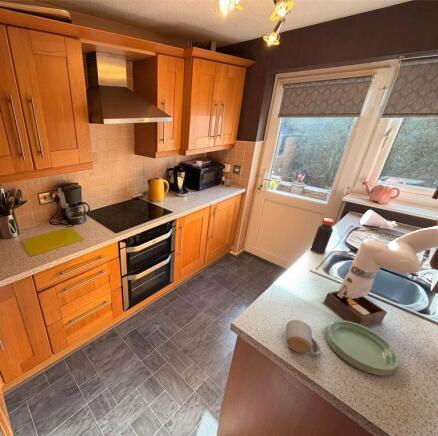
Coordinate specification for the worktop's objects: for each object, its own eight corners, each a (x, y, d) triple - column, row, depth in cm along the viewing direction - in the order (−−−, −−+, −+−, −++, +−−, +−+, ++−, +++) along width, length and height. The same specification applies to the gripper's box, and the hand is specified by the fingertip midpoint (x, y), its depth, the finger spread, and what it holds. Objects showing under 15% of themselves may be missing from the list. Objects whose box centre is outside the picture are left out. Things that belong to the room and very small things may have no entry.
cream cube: (354, 310, 94) (358, 304, 93) (366, 319, 90) (370, 313, 89) (348, 312, 93) (351, 305, 92) (359, 321, 89) (363, 314, 88)
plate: (351, 322, 90) (354, 316, 88) (408, 368, 74) (414, 361, 72) (313, 332, 86) (316, 325, 84) (365, 383, 70) (370, 375, 68)
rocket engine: (405, 217, 156) (373, 207, 162) (400, 231, 153) (368, 220, 160) (392, 224, 166) (363, 213, 173) (388, 237, 163) (358, 226, 170)
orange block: (343, 301, 98) (346, 295, 97) (354, 309, 94) (357, 303, 93) (336, 302, 98) (339, 296, 96) (347, 311, 94) (350, 304, 92)
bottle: (325, 254, 132) (338, 223, 124) (312, 252, 134) (323, 221, 126) (322, 248, 138) (334, 218, 129) (309, 246, 140) (319, 217, 132)
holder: (346, 298, 102) (351, 287, 99) (380, 323, 90) (387, 312, 87) (323, 303, 99) (327, 292, 96) (355, 329, 87) (362, 318, 84)
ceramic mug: (283, 348, 80) (290, 333, 76) (283, 330, 86) (289, 316, 83) (320, 363, 75) (328, 348, 72) (317, 343, 82) (325, 328, 79)
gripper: (356, 280, 83) (338, 316, 91) (390, 273, 87) (370, 309, 94) (336, 267, 90) (321, 302, 98) (368, 261, 93) (351, 296, 101)
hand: (345, 305), depth 96 cm, fingers closed on orange block, 3 cm apart
